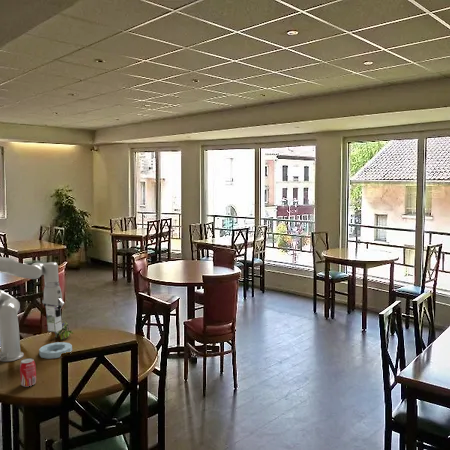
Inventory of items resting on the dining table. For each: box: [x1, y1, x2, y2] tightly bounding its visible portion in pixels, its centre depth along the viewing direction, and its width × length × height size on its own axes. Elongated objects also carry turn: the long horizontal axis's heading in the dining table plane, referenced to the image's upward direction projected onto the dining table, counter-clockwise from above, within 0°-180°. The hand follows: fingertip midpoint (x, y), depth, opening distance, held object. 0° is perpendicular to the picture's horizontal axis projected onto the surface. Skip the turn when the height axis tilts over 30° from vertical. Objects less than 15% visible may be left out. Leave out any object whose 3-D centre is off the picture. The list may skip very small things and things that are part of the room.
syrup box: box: [45, 305, 63, 333], centre depth 269 cm, size 6×6×14 cm
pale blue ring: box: [38, 341, 73, 360], centre depth 270 cm, size 17×17×3 cm
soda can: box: [19, 357, 37, 388], centre depth 229 cm, size 7×7×12 cm
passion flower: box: [54, 321, 74, 341], centre depth 296 cm, size 11×11×12 cm
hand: (53, 315), depth 268 cm, fingers closed on syrup box, 6 cm apart
